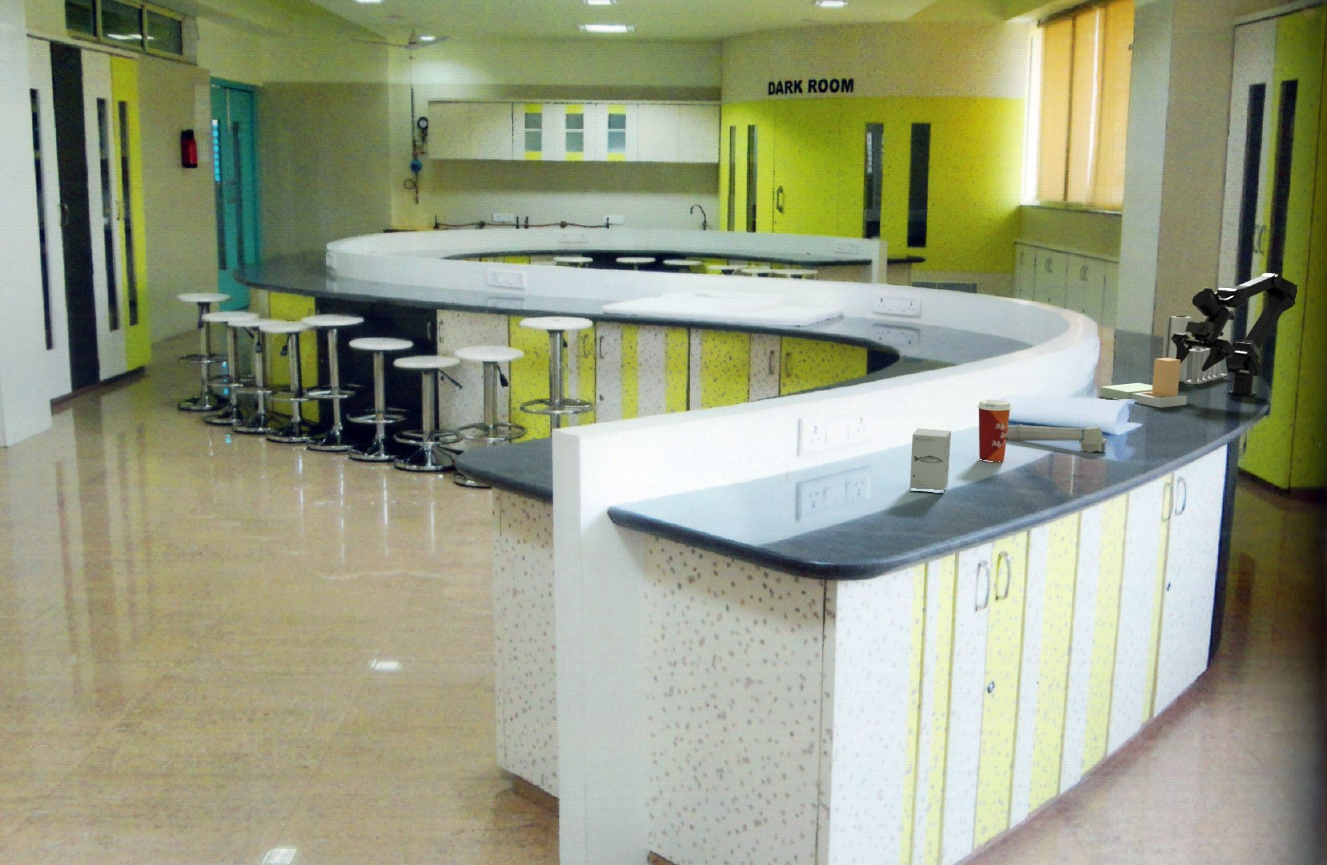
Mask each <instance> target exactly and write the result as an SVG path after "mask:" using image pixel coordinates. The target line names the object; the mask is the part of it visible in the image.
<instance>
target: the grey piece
mask: <svg viewBox="0 0 1327 865" xmlns="http://www.w3.org/2000/svg"><path fill="white" fill-rule="evenodd" d="M1006 441H1011V442H1012V441H1013V442H1018V443H1021V442H1027V441H1028V442H1029V441H1030V442H1031V441H1032V442H1033V441H1035V442H1038V441H1039V442H1041V441H1043V442H1044V441H1045V442H1047V441H1050V442H1052V441H1053V442H1055V441H1056V442H1057V441H1064V442H1065V441H1067V442H1068V441H1069V442H1070V441H1078V444H1080V445H1081V451H1082V452H1087V453H1094V452H1097V451H1098V452H1100V453H1101V452H1105V451H1106V450H1107V449H1106V443H1107V442H1108V439H1107V438H1104V436H1103V431H1102V429H1101V427H1100V426H1088V427H1087V426H1086V427H1084V428H1083V427H1081V428H1080V427H1079V428H1077V427H1058V426H1057V427H1056V426H1040V425H1036V426H1034V425H1023V423H1022V424H1021V423H1020V424H1018V425H1008V430H1007V439H1006Z"/></svg>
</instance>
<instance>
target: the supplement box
mask: <svg viewBox="0 0 1327 865" xmlns="http://www.w3.org/2000/svg"><path fill="white" fill-rule="evenodd" d="M951 438H952V431H951V430H943V429H930V428H929V429H928V428H916V429H915V431H914V432H913V433H912V442H911V460H910V463H911V464H910V478H909V479H910V480H909V481H910V482H909V489H910V488H916V489H934V490H944V489H945V488H946V486H947V485H948V486H949V474H950V473H949V472H950V456H951V455H950V454H951V452H950V451H951ZM948 486H947V487H948Z"/></svg>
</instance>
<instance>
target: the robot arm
mask: <svg viewBox="0 0 1327 865" xmlns="http://www.w3.org/2000/svg"><path fill="white" fill-rule="evenodd" d="M1297 286H1298V284H1295V283H1294V282H1292V281H1290V280H1287V279H1286V278H1284V277H1283V276H1282V275H1280V274H1278V273H1269V272H1266V273H1263V274H1262V275H1261V276H1258V277H1255V278H1253V279H1250V280H1249V281H1246V282H1244V283H1242V284H1239V285H1233V286H1223V287H1220V288H1218V289H1217V291H1215V292H1214V290H1213V289H1212V288H1211V287H1204V289H1203V290H1201V291H1199V292H1197V293H1196V294H1195V295H1193V297H1192V301H1191V302H1192V305H1193V306H1194V307H1195V308H1196V309H1197V311H1199V312H1200V313H1201V315H1202V316H1204V317H1206V318H1205V320H1204V321H1200V322H1197V321H1191V322H1190V321H1188V323H1187V326H1186V330H1185V332H1190V333H1191V334H1190V336H1191V337H1193V338H1194V339H1193V338H1191V337H1190V336H1188V335H1187V334H1183V333H1174V334H1173V336H1172V338H1171V340H1172V341H1173V343H1174V344H1175V345H1176V347H1177V354H1176V359H1178V360H1180V364H1181V363H1182V362H1183V360H1184V359H1185V358H1186V357H1187V355H1188V356H1189V354H1190V353H1191V352H1190V351H1189V350H1190V349H1193V347H1195V346H1197V347H1203V348H1209V349H1210V354H1209V356H1208V358H1207V359H1206V361H1205V363H1204V365H1203V367H1202V369H1201V370H1202V371H1203V372H1204V371H1206V370H1207V369H1209V368H1210V367H1212V366H1213V365H1215V364H1217V363H1218V362H1220V361H1221V362H1222V361H1223V360H1225V365H1226V366H1225V367H1226V369H1227V370H1226V371H1227V373H1229V374H1230V373H1231V374H1233V378H1232V379H1233V381H1232V389H1231V390H1229V391H1227V394H1233V395H1242V396H1247V397H1248V396H1253V395H1256V394H1258V392H1257V391H1254V386H1255V385H1254V384H1255V383H1254V382H1255V377H1259V376H1261V375H1262V374H1263V370H1264V368H1263V366H1262V364H1261V363H1260V362H1259V360H1260V357H1261V356H1260V348H1261V346H1262V345H1263V344H1264V342H1265V340H1266V339H1267V337H1268V336H1269V334H1270V333H1271V331H1272V330H1273V328H1274V327H1275V325H1276V324H1277V322H1278V321H1279V319H1280V318H1281V315H1283V313H1285V312H1286V311H1288V310H1289V309H1291V308H1293V307H1294V306H1295V305H1296V303H1295V298H1296V294H1297ZM1263 292H1265V293H1266V294H1267V295H1266V300H1267V304H1266V306H1265V307H1264V309H1263V311H1262V312H1261V313H1260V315H1259V316H1258V318H1257V320H1256V321H1255V323H1254V325H1253V326H1252V327H1251V329H1250V330H1249V332H1248V334H1247V335H1246V337H1245V338H1244V340H1242V341H1241V342H1240V341H1234V342H1233V343H1231V342H1230V341H1229V340H1228V339H1223V338H1222V339H1218V338H1220V337H1223V336H1224V334H1225V333H1224V332H1223V330H1224V329H1225V327H1226V325H1227V323H1228V321H1234V320H1235V315H1234V311H1233V310H1229V309H1228V308H1230V309H1231V308H1232V309H1238V308H1240V307H1241V306H1243V305H1245V304H1246V303H1247V301H1248V299H1249V298H1252V297H1254V296H1256V295H1259V294H1261V293H1263Z"/></svg>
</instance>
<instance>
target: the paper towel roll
mask: <svg viewBox="0 0 1327 865" xmlns="http://www.w3.org/2000/svg"><path fill="white" fill-rule="evenodd" d="M1188 321H1190V322H1192V317H1191V316H1186V315H1174V316H1173V315H1172V316H1171V315H1170V316H1165V322H1164V323H1165V324H1164V325H1165V326H1164V333H1163V334H1164V335H1163V350H1162V358H1172V359H1176V354H1177V347H1176V345H1175V344H1174V343H1173V341H1172V340H1171V338H1172V336H1173V334H1174V333H1183V334H1187V335H1188V336H1189V337H1190V336H1191V334H1190V332H1185V330H1186V326H1187V323H1188ZM1188 357H1189V354H1188V355H1187V357H1186V358H1185V359H1184V360H1183V362H1182V363H1181V364H1180V372H1179V382H1180V383H1181V382H1184V381H1187V369H1188Z"/></svg>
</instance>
